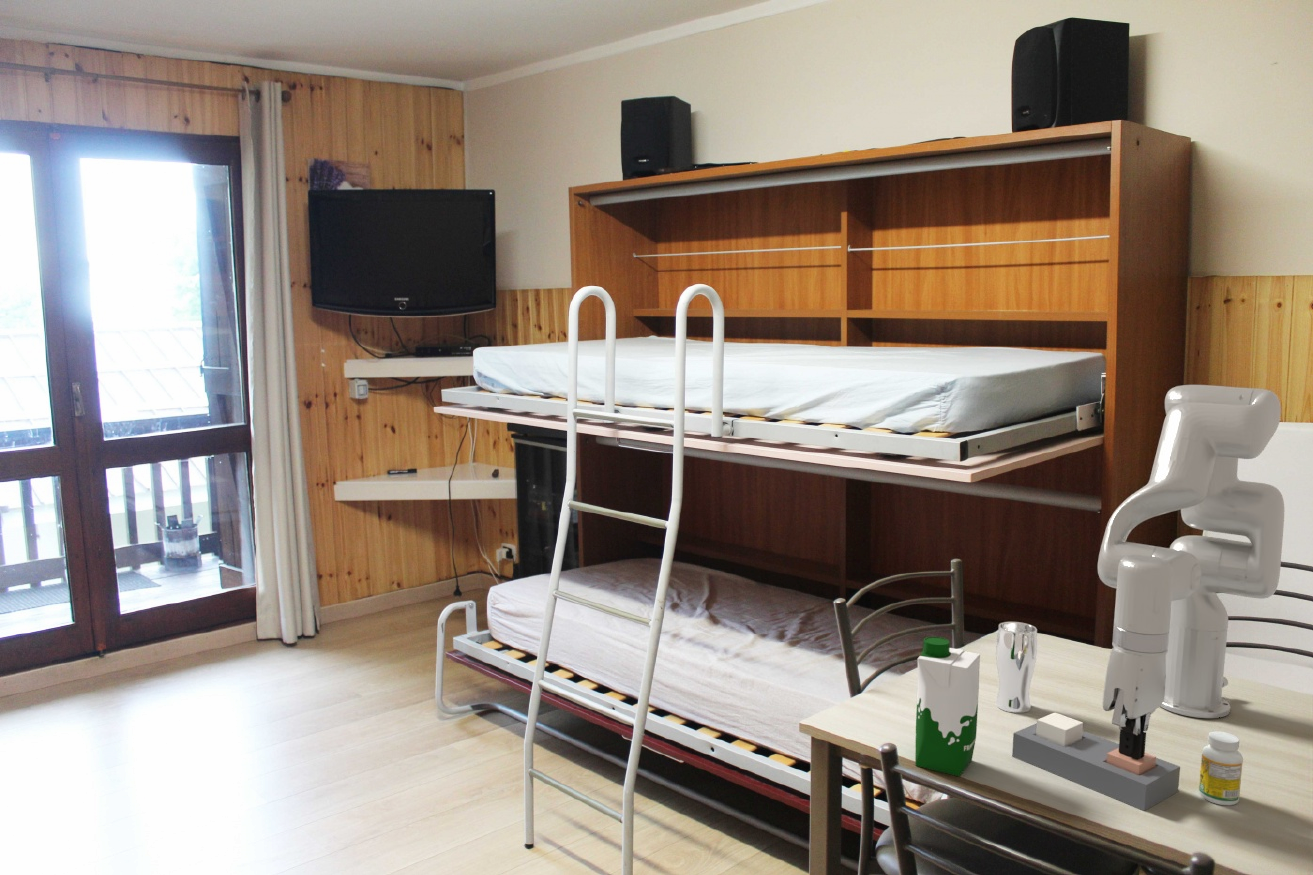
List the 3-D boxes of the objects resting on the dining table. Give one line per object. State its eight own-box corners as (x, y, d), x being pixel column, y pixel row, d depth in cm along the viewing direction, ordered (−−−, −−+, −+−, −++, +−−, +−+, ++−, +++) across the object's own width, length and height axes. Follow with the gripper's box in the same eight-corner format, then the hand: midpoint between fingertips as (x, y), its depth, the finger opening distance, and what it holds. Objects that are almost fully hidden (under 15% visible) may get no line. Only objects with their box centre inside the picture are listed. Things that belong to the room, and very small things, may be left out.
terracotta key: (1122, 766, 160) (1124, 744, 160) (1154, 778, 156) (1156, 756, 156) (1105, 775, 157) (1107, 753, 157) (1137, 787, 153) (1139, 765, 153)
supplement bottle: (1234, 810, 150) (1240, 748, 149) (1194, 798, 154) (1199, 737, 153) (1242, 796, 155) (1248, 736, 153) (1203, 785, 158) (1208, 726, 157)
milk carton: (924, 746, 171) (930, 630, 168) (980, 759, 166) (986, 640, 163) (907, 766, 163) (913, 645, 161) (964, 781, 159) (971, 656, 156)
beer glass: (1027, 700, 191) (1032, 621, 189) (1037, 715, 184) (1042, 634, 182) (989, 698, 191) (993, 620, 189) (997, 713, 185) (1002, 632, 182)
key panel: (1047, 740, 173) (1048, 718, 173) (1178, 791, 156) (1180, 766, 155) (1012, 756, 167) (1013, 732, 167) (1144, 810, 150) (1146, 785, 149)
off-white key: (1053, 732, 169) (1054, 712, 169) (1081, 743, 166) (1083, 722, 165) (1035, 740, 166) (1037, 719, 166) (1064, 751, 163) (1065, 730, 162)
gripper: (1141, 623, 161) (1133, 734, 164) (1089, 641, 152) (1081, 759, 155) (1190, 636, 155) (1180, 751, 158) (1138, 656, 146) (1129, 778, 149)
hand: (1131, 755), depth 156 cm, fingers closed
